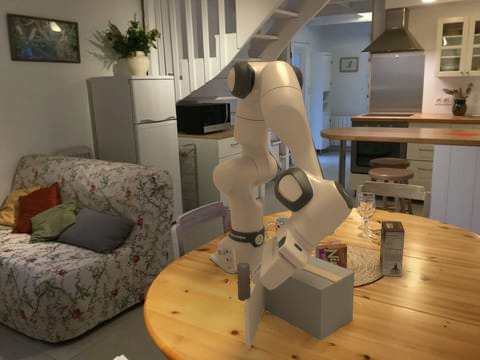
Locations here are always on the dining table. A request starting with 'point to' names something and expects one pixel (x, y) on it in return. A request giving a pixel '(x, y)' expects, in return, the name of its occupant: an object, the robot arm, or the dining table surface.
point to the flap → (250, 301)
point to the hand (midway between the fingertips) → (252, 279)
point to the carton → (314, 298)
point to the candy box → (333, 252)
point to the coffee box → (391, 248)
